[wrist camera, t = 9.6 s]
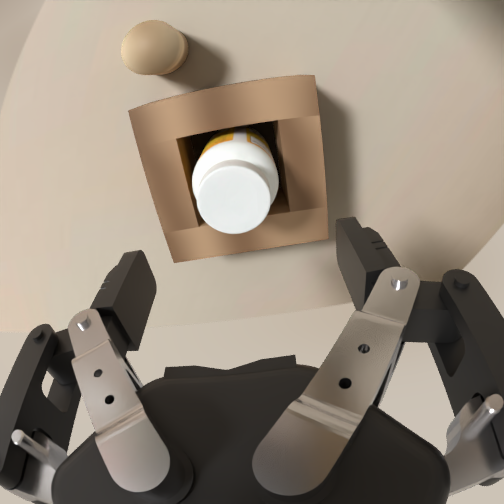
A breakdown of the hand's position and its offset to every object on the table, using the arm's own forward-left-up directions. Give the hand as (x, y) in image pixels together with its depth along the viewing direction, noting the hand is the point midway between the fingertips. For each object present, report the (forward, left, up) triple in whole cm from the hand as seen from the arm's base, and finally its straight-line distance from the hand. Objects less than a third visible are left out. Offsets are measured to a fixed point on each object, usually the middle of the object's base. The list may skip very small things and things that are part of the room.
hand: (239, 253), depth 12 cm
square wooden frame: (0, 0, -14) cm, 14 cm away
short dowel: (+4, -10, -14) cm, 18 cm away
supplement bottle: (0, 0, -15) cm, 15 cm away
